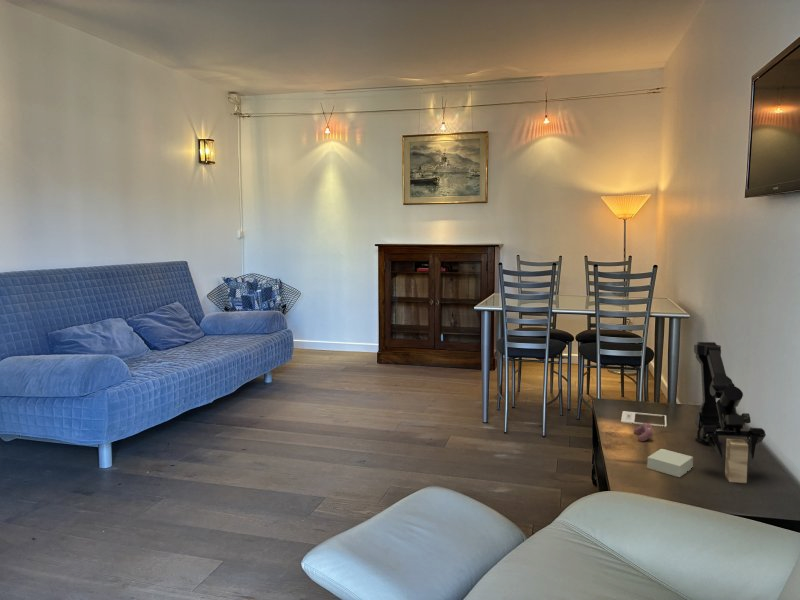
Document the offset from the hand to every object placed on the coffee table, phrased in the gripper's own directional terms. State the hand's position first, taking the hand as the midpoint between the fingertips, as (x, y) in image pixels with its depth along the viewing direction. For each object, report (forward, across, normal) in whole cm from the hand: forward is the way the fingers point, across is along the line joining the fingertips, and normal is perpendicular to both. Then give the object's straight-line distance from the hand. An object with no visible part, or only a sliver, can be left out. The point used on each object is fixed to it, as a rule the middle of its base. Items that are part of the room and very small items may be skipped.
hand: (736, 457), depth 188 cm
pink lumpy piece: (-20, -23, +30) cm, 43 cm away
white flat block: (+1, -19, +10) cm, 21 cm away
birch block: (+5, 0, +6) cm, 8 cm away
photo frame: (-36, -19, +47) cm, 62 cm away
